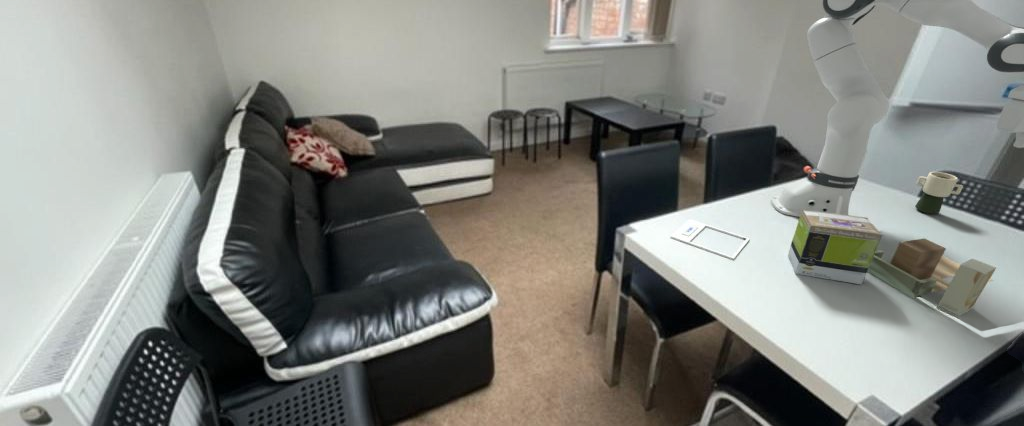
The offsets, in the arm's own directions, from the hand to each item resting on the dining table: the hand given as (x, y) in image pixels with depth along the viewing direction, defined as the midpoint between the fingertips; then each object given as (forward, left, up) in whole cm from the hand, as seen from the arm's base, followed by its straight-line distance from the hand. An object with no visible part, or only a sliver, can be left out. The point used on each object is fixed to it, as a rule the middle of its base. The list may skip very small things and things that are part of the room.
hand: (1020, 147), depth 111 cm
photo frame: (-69, -13, -32) cm, 77 cm away
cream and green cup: (+4, +28, -31) cm, 42 cm away
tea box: (-42, -22, -31) cm, 57 cm away
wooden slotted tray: (-17, -17, -31) cm, 39 cm away
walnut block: (-22, -20, -30) cm, 43 cm away
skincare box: (-18, -32, -31) cm, 48 cm away
